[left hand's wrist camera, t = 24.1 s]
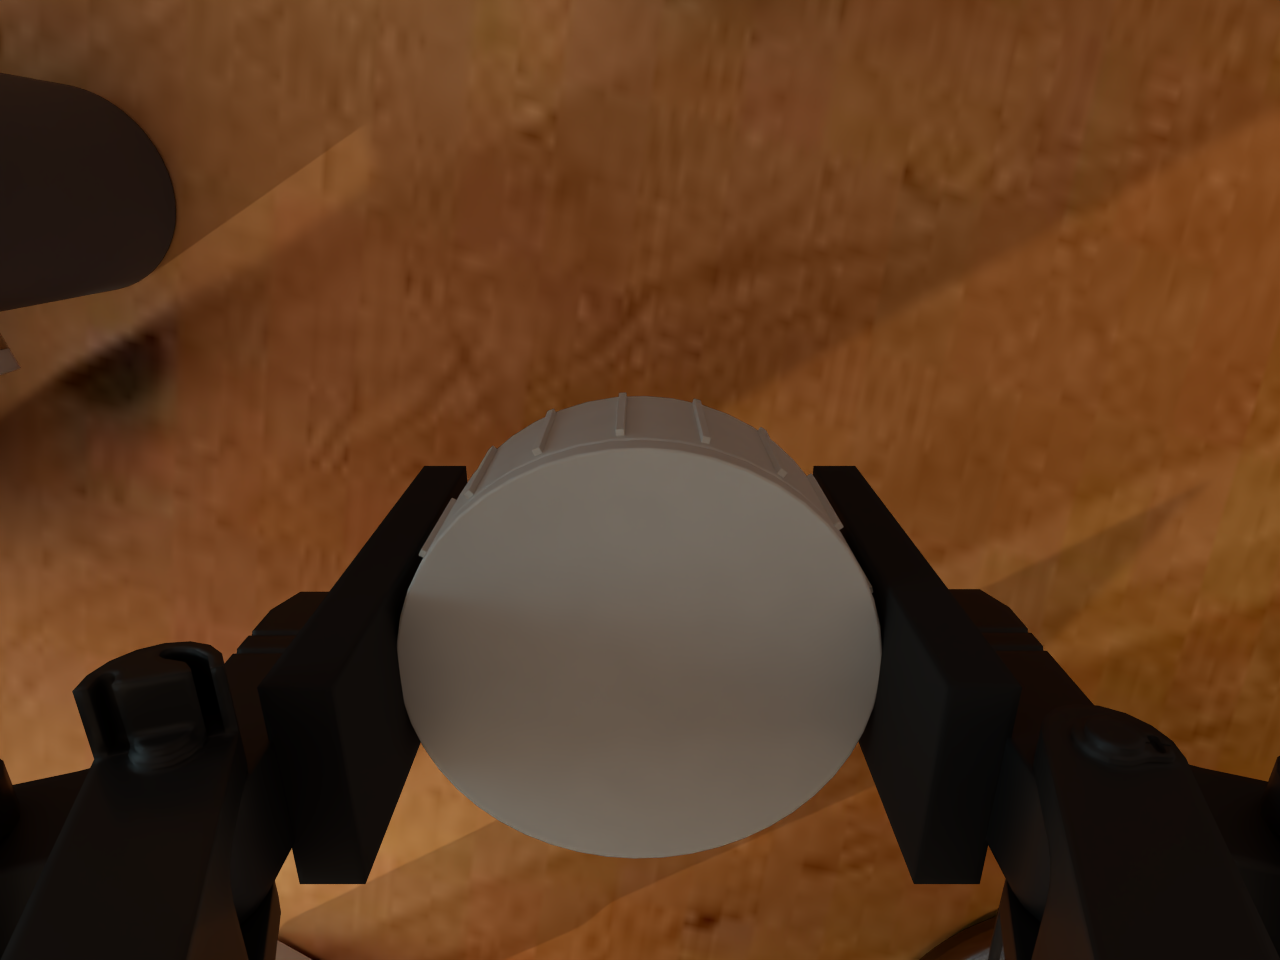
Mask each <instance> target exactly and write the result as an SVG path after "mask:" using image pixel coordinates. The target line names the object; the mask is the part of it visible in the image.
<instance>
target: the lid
mask: <svg viewBox="0 0 1280 960" xmlns="http://www.w3.org/2000/svg"><path fill="white" fill-rule="evenodd" d="M842 528H843V525H842V523H841V521H840V520H839V518H838V516H837V515H836V513H835V511H834V510H833V508H832V506H831V504H830V503H829V501H828V499H827V498H826V496H825V494H824V493H823V491H822V489H821V488H820V486H819V484H818V482H817V481H816V479H815V478H814V476H813V475H812V474H809V475H808V476H806V475H805V473H804V472H803V471H802V470H801V468H800V467H799V466H798V465H797V464H796V462H795V461H794V460H793V459H792V458H791V457H790V456H789V455H788V454H787V453H786V452H784V451H783V450H782V449H781V448H780V447H779V446H778V445H777V444H776V443H775V442H773V441H772V440H771V439H770V437H769V435H768V433H767V431H766V430H765V429H763V428H762V427H760V428H759V430H756V429H755V428H753V427H752V426H750V425H748V424H746V423H744V422H742V421H740V420H738V419H736V418H734V417H732V416H730V415H729V414H726V413H723V412H721V411H718V410H715V409H712V408H709V407H707V406H704V405H702V404H701V400H698V399H693V402H687V401H682V400H678V399H673V398H662V397H650V396H632V397H627V393H619V397H614V398H608V399H602V400H596V401H590V402H586V403H583V404H579V405H576V406H573V407H570V408H566V409H563V410H560V411H558V412H555V410H554V409H551V410H549V411H547V414H546V416H545V418H542V419H540V420H538V421H536V422H534V423H532V424H531V425H529V426H528V427H526V428H525V429H523V430H521V431H520V432H518V433H517V434H515V435H513V436H512V437H511V438H509V439H508V440H507V441H506V442H505V443H503V444H502V445H501V446H500V447H499V448H498V449H496V448H495V447H494V446H492V447H491V448H490V449H489V450H488V452H487V453H486V455H485V457H484V459H483V460H482V462H481V464H480V466H479V468H478V469H477V470H476V471H475V473H474V474H473V475H472V477H471V478H470V480H469V481H468V483H467V484H466V486H465V487H464V489H463V490H462V492H461V493H460V495H459V497H458V499H457V500H456V499H454V498H451V500H450V502H449V503H448V505H447V507H446V508H445V510H444V512H443V514H442V515H441V517H440V519H439V520H438V522H437V524H436V525H435V527H434V529H433V530H432V532H431V534H430V535H429V537H428V539H427V540H426V542H425V544H424V546H423V547H422V549H421V551H420V553H419V556H421V557H423V559H422V561H421V563H420V565H419V567H418V569H417V571H416V573H415V576H414V578H413V580H412V582H411V584H410V586H409V588H408V591H407V594H406V598H405V601H404V605H403V608H402V612H401V615H400V621H399V629H398V637H397V653H398V662H399V670H400V677H401V684H402V691H403V698H404V704H405V707H406V710H407V713H408V716H409V718H410V721H411V724H412V726H413V728H414V730H415V732H416V734H417V736H418V738H419V739H420V741H421V743H422V745H423V747H424V749H425V750H426V751H427V753H428V754H429V756H430V757H431V759H432V760H433V761H434V763H435V764H436V766H437V767H438V768H439V770H440V771H441V772H442V773H443V774H444V775H445V776H446V777H447V778H448V779H449V781H450V782H451V783H452V784H453V785H454V786H455V787H456V788H457V789H458V790H459V791H460V792H461V793H463V794H464V795H465V796H466V797H467V798H469V799H470V800H471V801H472V802H473V803H474V804H476V805H477V806H478V807H479V808H481V809H482V810H484V811H485V812H487V813H488V814H490V815H491V816H493V817H494V818H496V819H497V820H499V821H500V822H502V823H504V824H506V825H508V826H510V827H512V828H514V829H516V830H518V831H520V832H522V833H524V834H526V835H528V836H531V837H533V838H536V839H539V840H541V841H544V842H546V843H549V844H552V845H555V846H559V847H563V848H566V849H570V850H574V851H577V852H583V853H588V854H594V855H600V856H607V857H622V858H661V857H670V856H677V855H685V854H692V853H696V852H700V851H704V850H709V849H713V848H717V847H720V846H723V845H726V844H729V843H732V842H735V841H738V840H741V839H744V838H746V837H748V836H750V835H752V834H754V833H757V832H759V831H761V830H763V829H765V828H767V827H769V826H771V825H773V824H774V823H776V822H778V821H779V820H781V819H783V818H784V817H786V816H787V815H789V814H791V813H792V812H794V811H795V810H796V809H798V808H799V807H800V806H801V805H803V804H804V803H805V802H807V801H808V800H809V799H810V798H812V797H813V796H814V795H815V794H816V793H817V792H818V791H819V790H820V789H821V788H822V787H823V786H824V785H825V784H826V783H827V782H828V781H829V780H830V779H831V778H832V777H833V776H834V775H835V774H836V773H837V771H838V770H839V769H840V767H841V766H842V765H843V764H844V762H845V761H846V760H847V758H848V757H849V756H850V754H851V753H852V751H853V749H854V748H855V746H856V744H857V742H858V741H859V739H860V737H861V735H862V734H863V732H864V730H865V727H866V725H867V722H868V720H869V717H870V715H871V712H872V710H873V707H874V703H875V699H876V694H877V687H878V680H879V672H880V664H881V656H882V642H881V628H880V623H879V618H878V614H877V610H876V605H875V601H874V598H873V595H872V593H873V589H872V586H871V584H870V582H869V580H868V579H867V577H866V575H865V573H864V572H863V570H862V568H861V566H860V565H859V563H858V561H857V559H856V558H855V556H854V554H853V552H852V551H851V549H850V547H849V545H848V544H847V542H846V540H845V539H844V537H843V535H842V533H841V532H840V531H839V530H840V529H842Z"/></svg>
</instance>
